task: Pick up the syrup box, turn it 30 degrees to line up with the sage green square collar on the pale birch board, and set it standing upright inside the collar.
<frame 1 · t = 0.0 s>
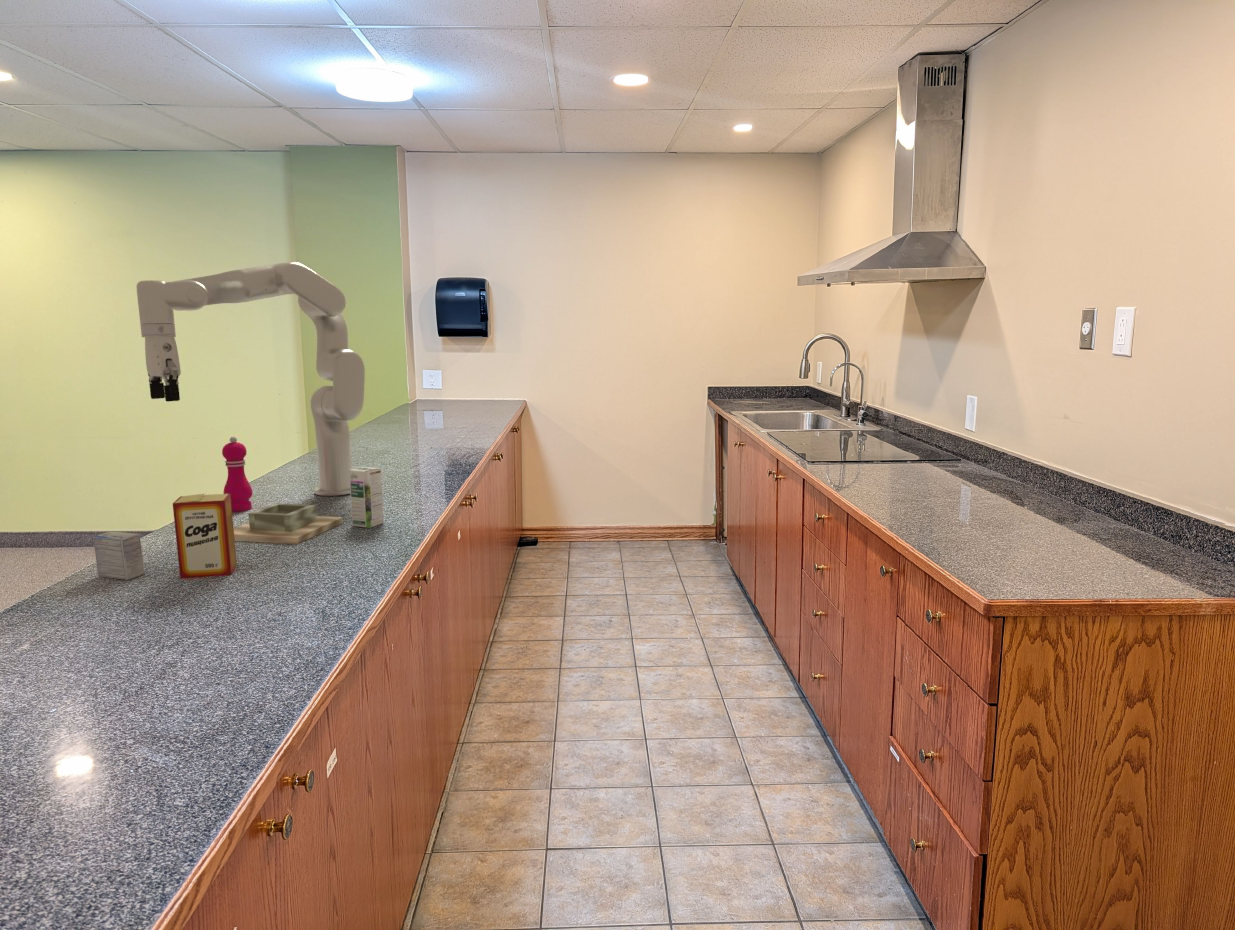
hand: (165, 399, 211), 31 cm above the table, tool pointing down, fingers open, 9 cm apart
socket board: (284, 531, 205), on the table
baking soda box: (209, 573, 173), on the table
pepper mill: (239, 509, 228), on the table
medicine box: (121, 576, 171), on the table
syrup box: (368, 525, 211), on the table
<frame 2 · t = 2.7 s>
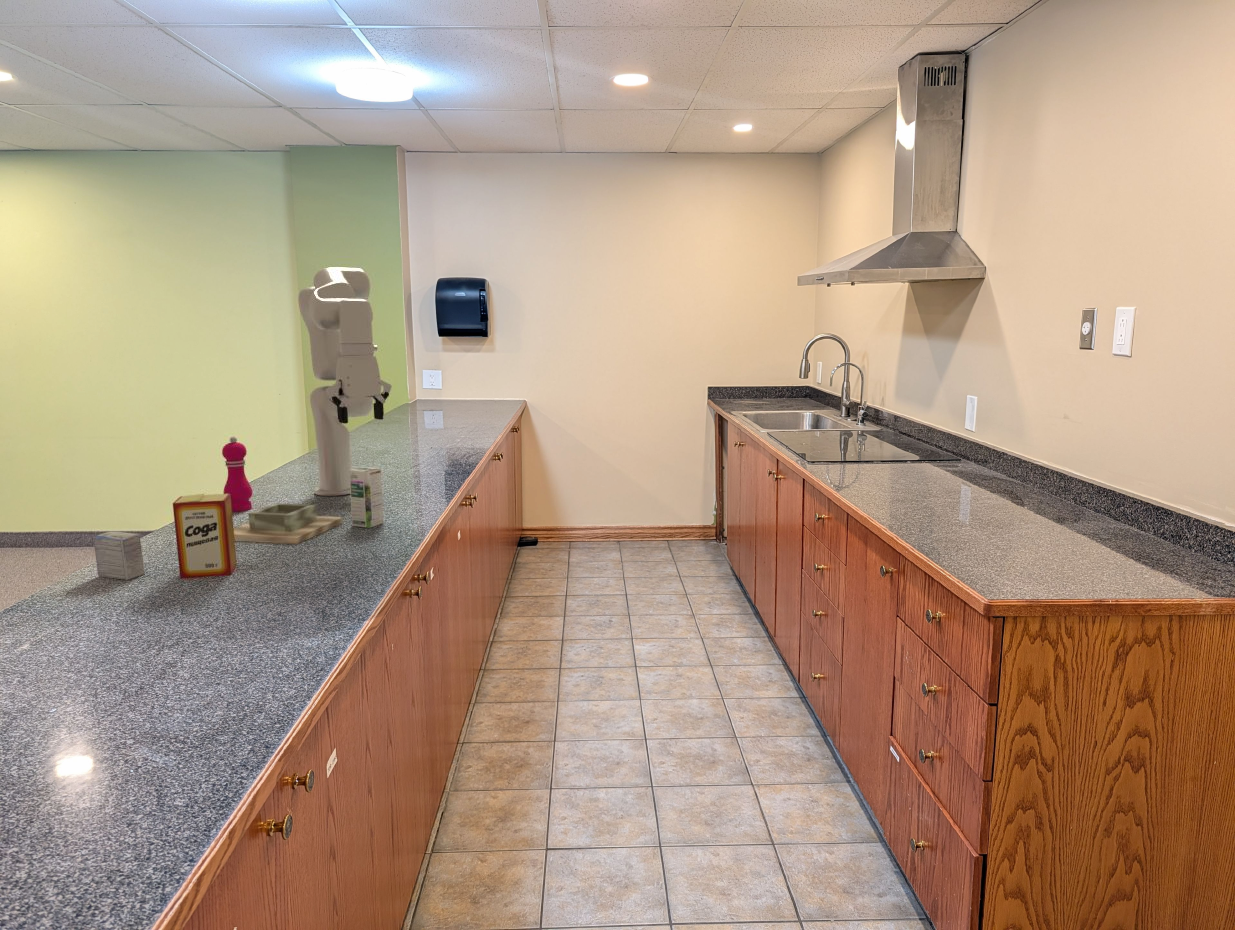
hand: (361, 421, 206), 26 cm above the table, tool pointing down, fingers open, 9 cm apart
nothing on the table moved.
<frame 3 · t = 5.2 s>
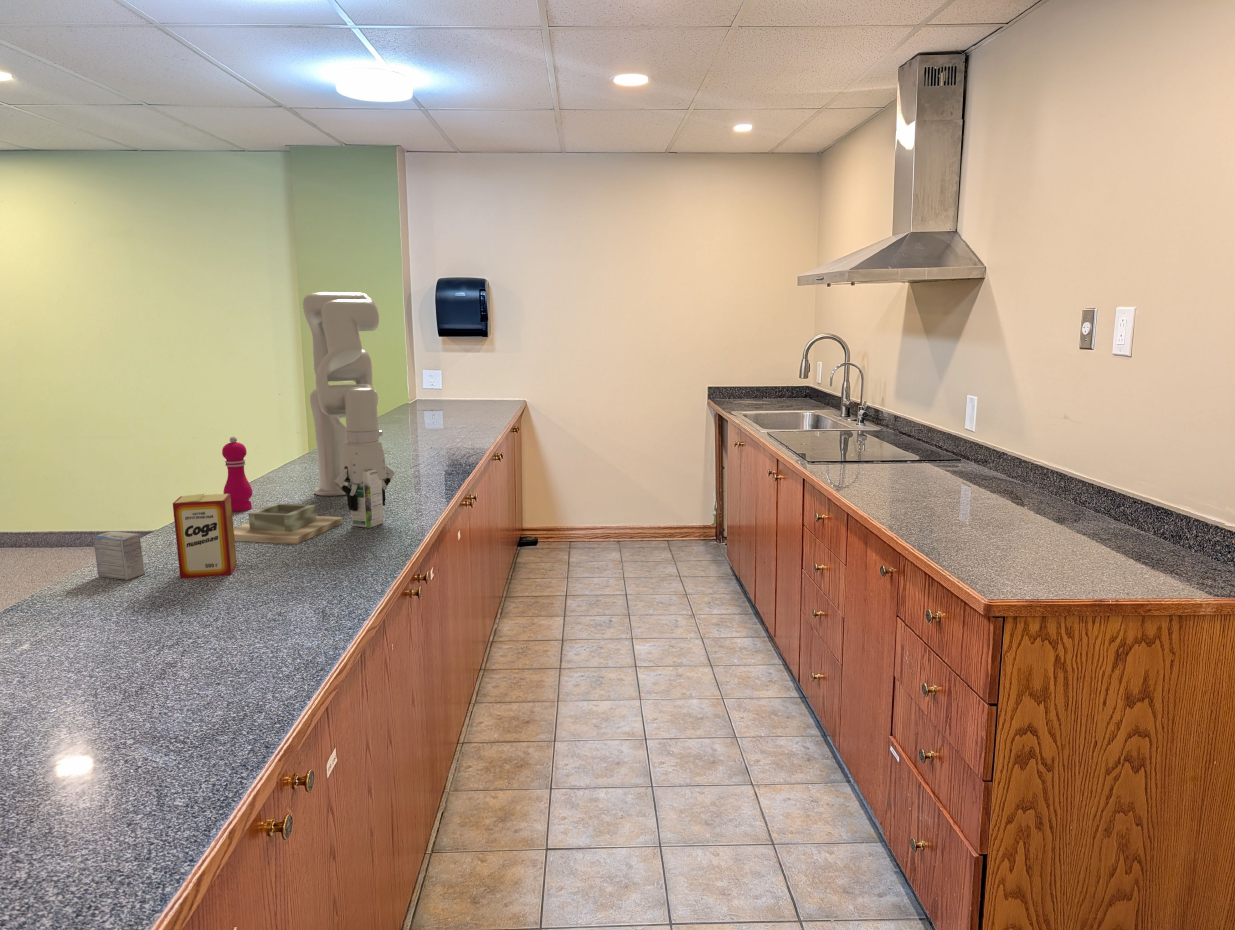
hand: (367, 506, 210), 5 cm above the table, tool pointing down, fingers closed on syrup box, 7 cm apart
syrup box: (368, 525, 211), on the table, touching gripper
everything else where it was.
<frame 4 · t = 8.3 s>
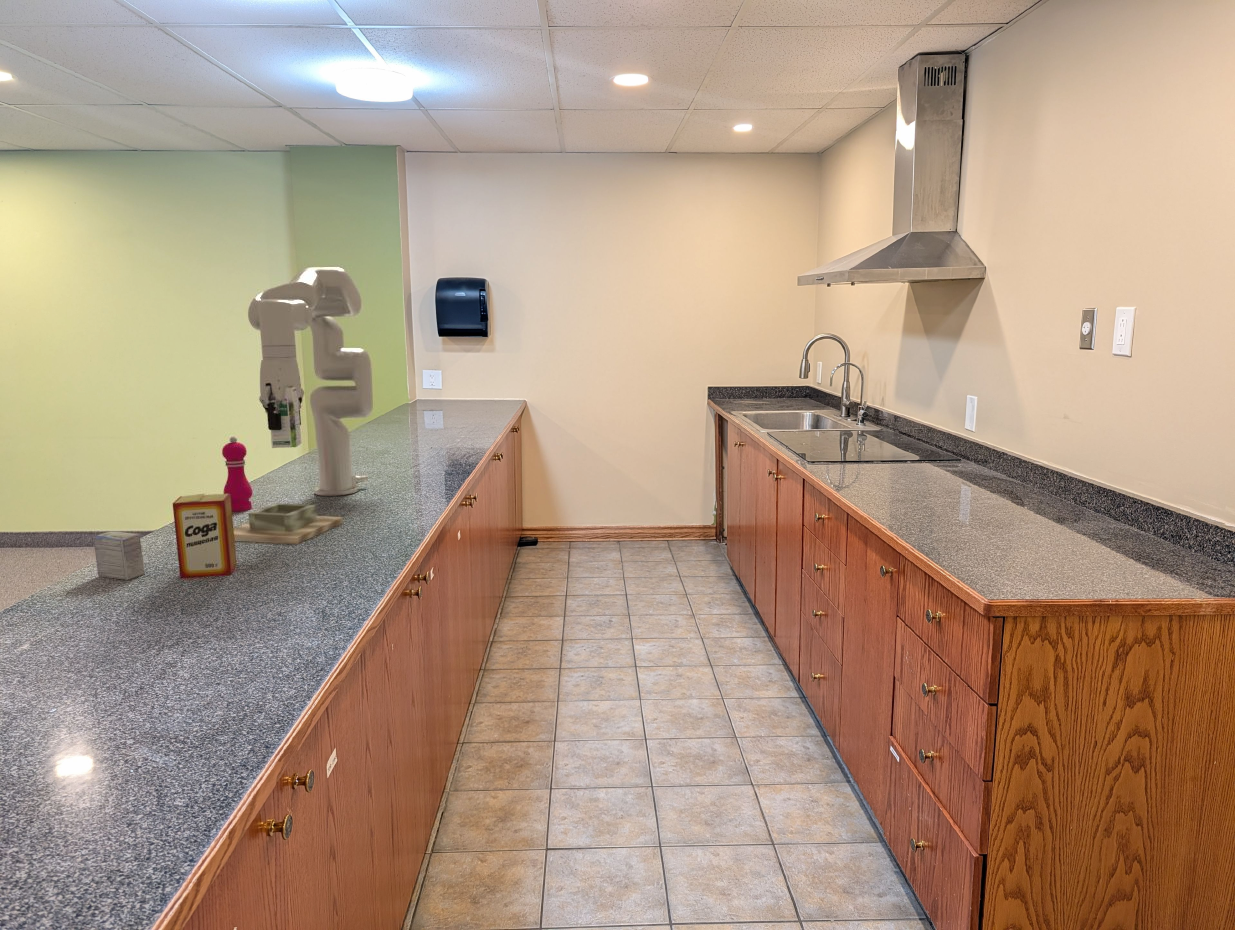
hand: (285, 427, 201), 26 cm above the table, tool pointing down, fingers closed on syrup box, 7 cm apart
syrup box: (287, 446, 202), point 21 cm above the table, touching gripper
everything else where it was.
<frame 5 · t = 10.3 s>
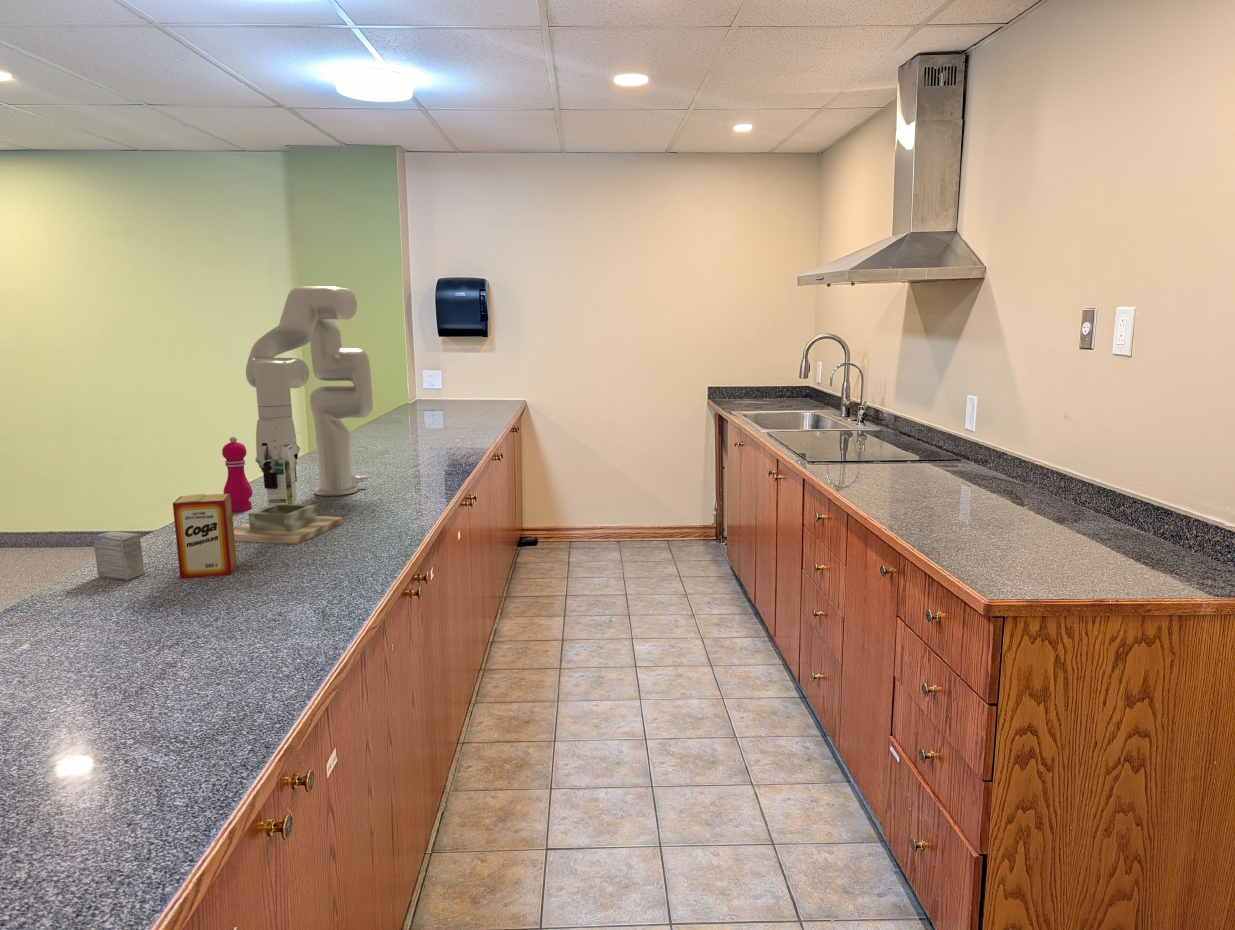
hand: (280, 484, 203), 12 cm above the table, tool pointing down, fingers closed on syrup box, 7 cm apart
syrup box: (282, 503, 204), point 7 cm above the table, touching gripper
everything else where it was.
when the fingers open (8 cm above the table, at t = 11.6 s): syrup box drops 2 cm, resting on socket board.
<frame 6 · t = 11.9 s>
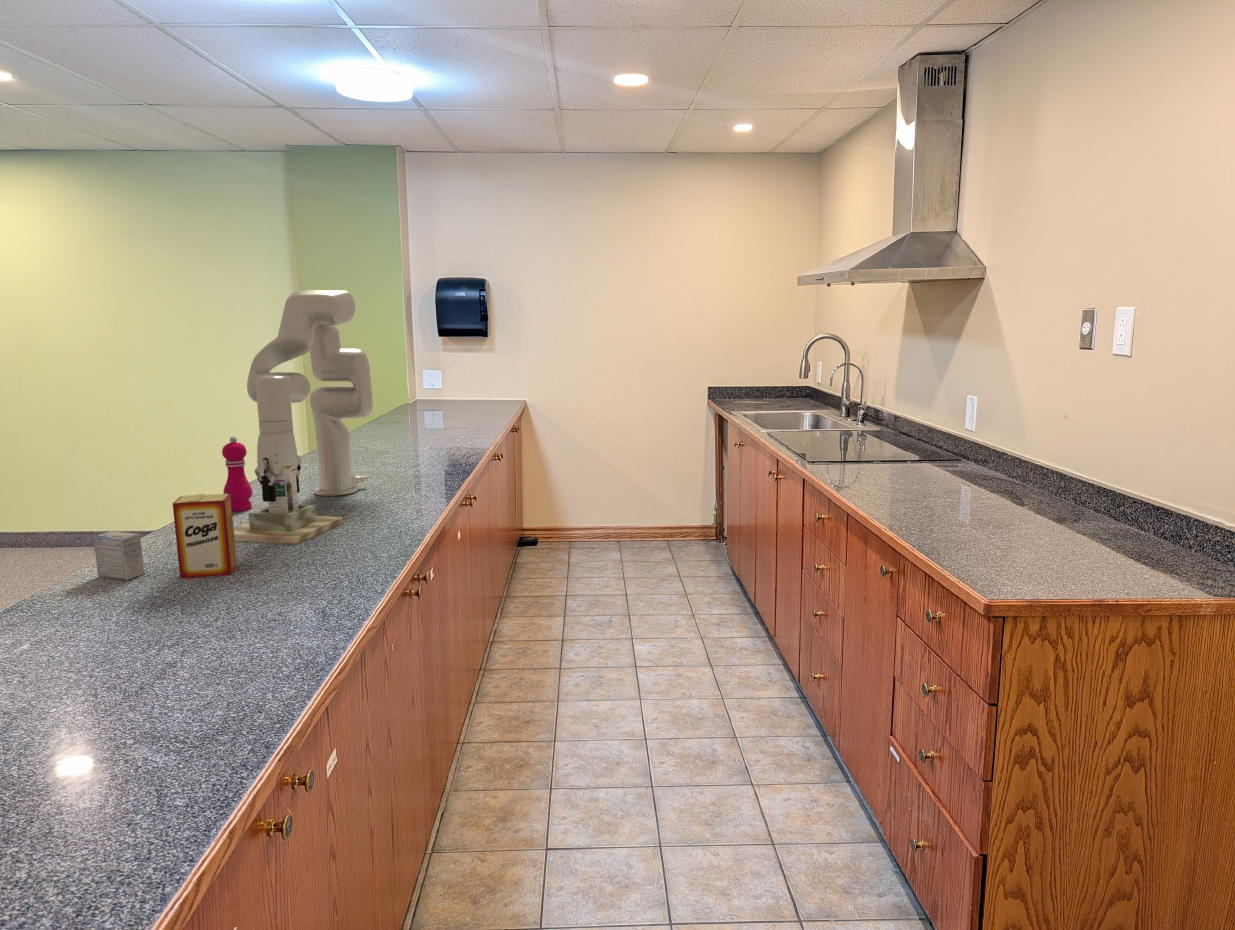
hand: (281, 496, 203), 9 cm above the table, tool pointing down, fingers open, 9 cm apart
syrup box: (285, 525, 205), point 1 cm above the table, touching socket board
everything else where it was.
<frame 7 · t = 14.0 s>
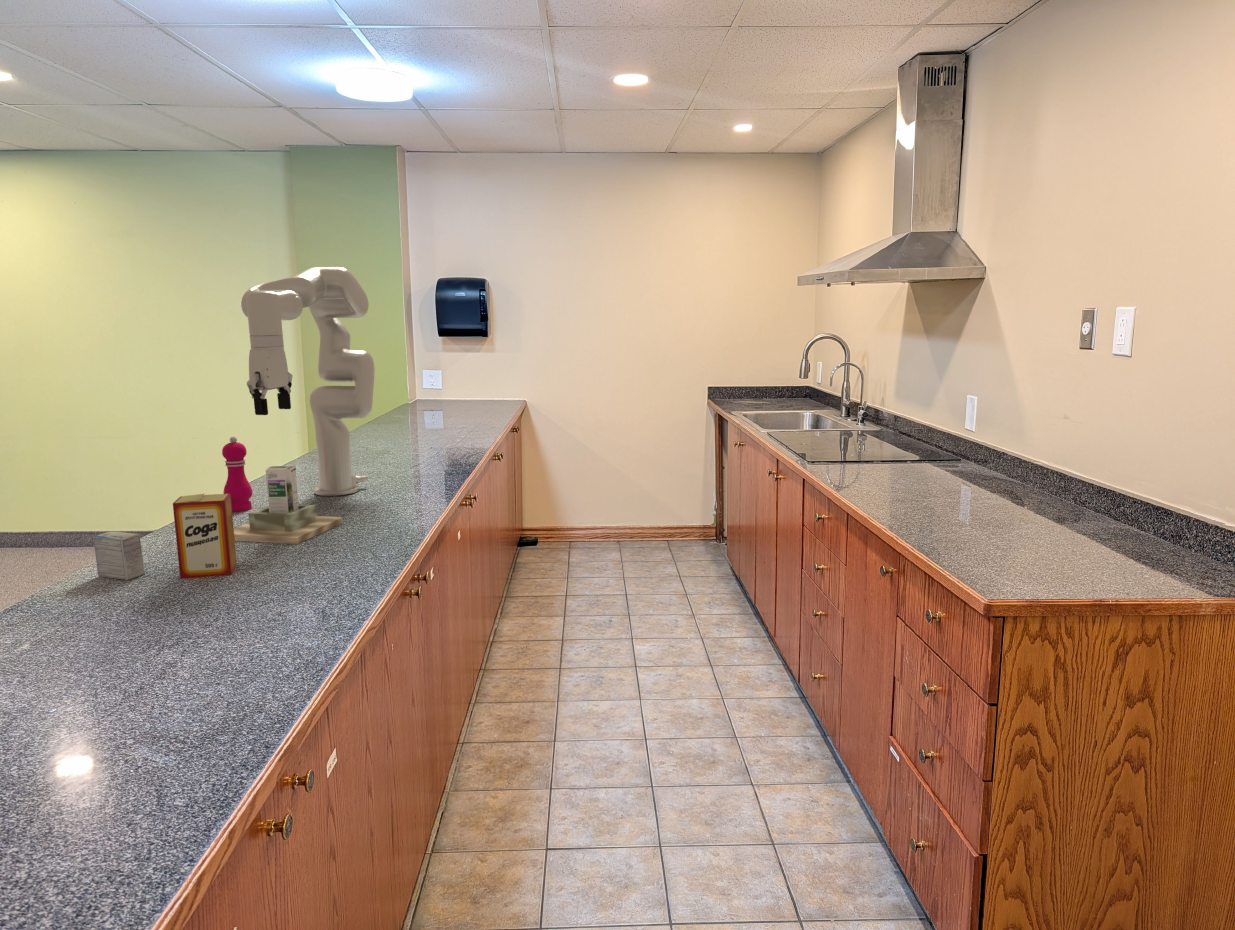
hand: (273, 411, 208), 28 cm above the table, tool pointing down, fingers open, 9 cm apart
nothing on the table moved.
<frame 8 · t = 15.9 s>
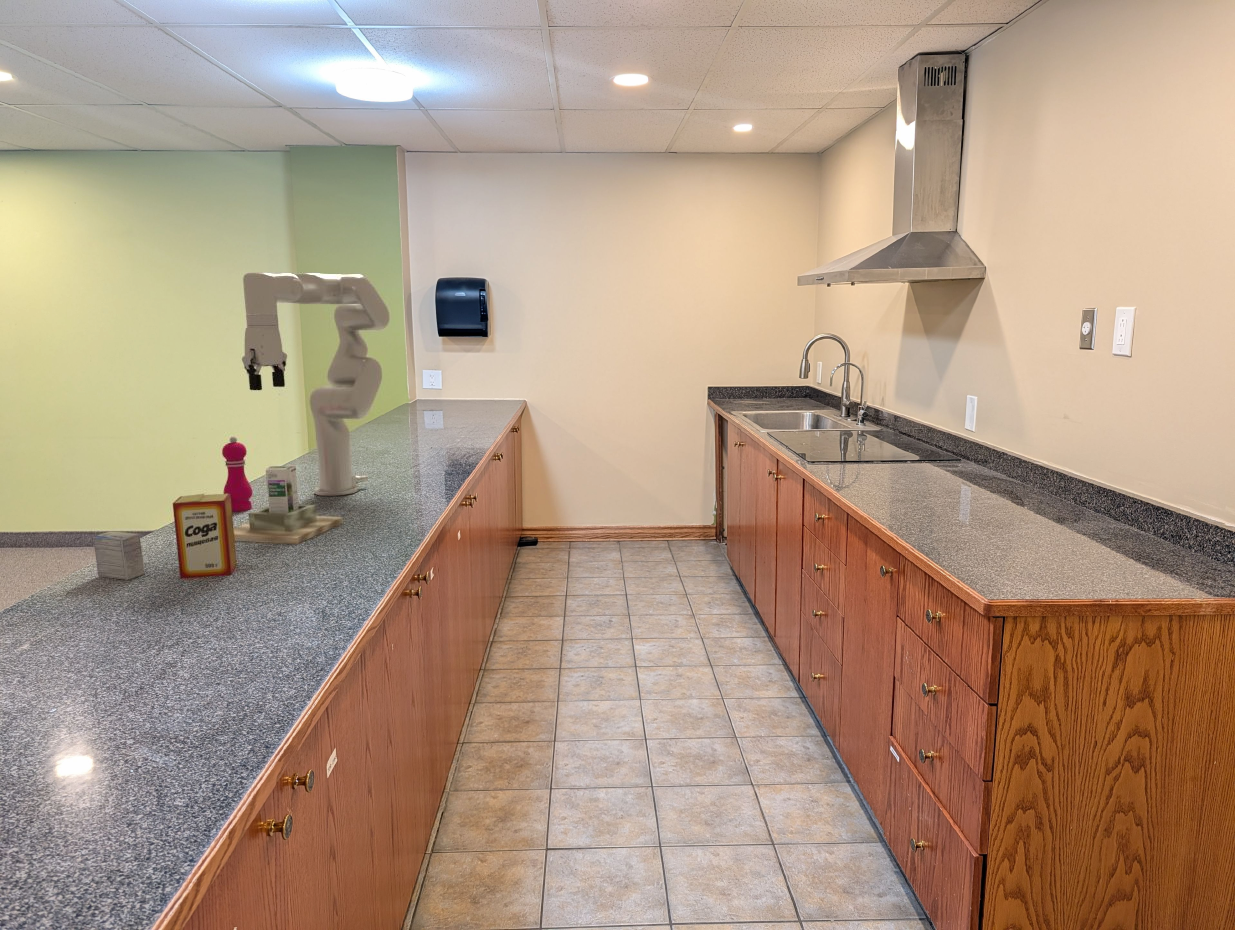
hand: (267, 388, 218), 33 cm above the table, tool pointing down, fingers open, 9 cm apart
nothing on the table moved.
at the end: syrup box 0.4 cm off-centre on the socket board, point 1.3 cm above the socket board's base; syrup box tilted 0°; the gripper is holding nothing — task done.
